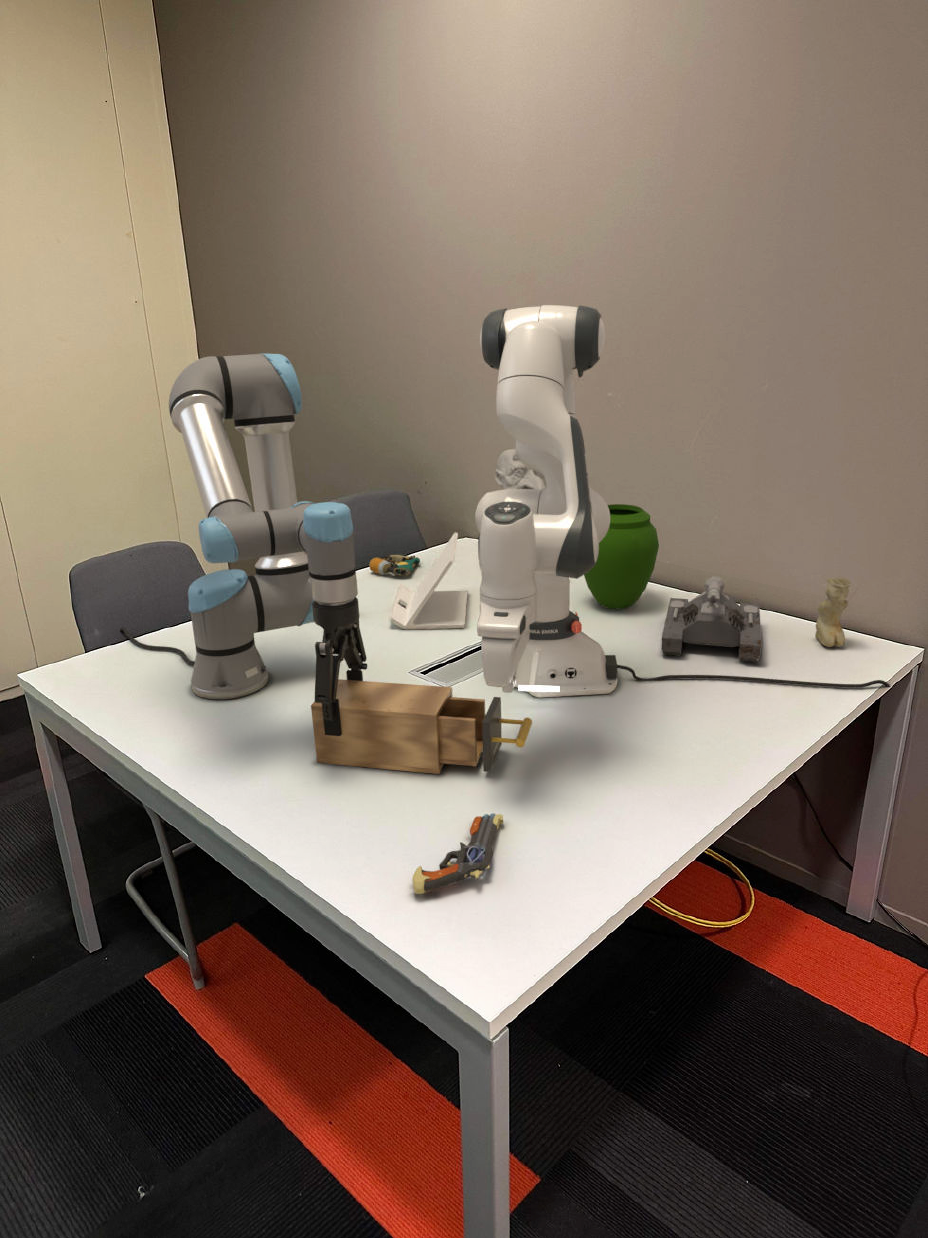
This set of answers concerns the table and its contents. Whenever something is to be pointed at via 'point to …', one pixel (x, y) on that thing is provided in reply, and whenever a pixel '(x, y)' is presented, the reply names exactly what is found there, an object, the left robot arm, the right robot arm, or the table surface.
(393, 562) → the spray gun
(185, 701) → the table surface
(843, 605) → the sculpture
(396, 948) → the table surface
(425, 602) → the tablet stand
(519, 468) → the bust sculpture
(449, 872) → the toy gun
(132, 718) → the table surface
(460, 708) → the drawer
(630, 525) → the vase
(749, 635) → the toy
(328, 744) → the cabinet
